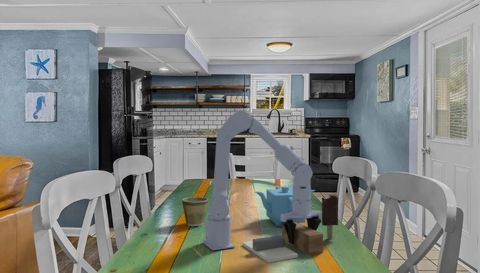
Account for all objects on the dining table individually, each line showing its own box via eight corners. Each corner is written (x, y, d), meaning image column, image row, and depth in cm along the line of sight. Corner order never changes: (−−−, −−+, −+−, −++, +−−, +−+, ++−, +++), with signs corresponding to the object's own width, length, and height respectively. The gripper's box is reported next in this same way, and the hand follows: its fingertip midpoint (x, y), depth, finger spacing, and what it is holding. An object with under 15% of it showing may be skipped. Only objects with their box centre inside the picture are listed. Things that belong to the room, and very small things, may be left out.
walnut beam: (282, 240, 126) (282, 223, 126) (294, 238, 128) (294, 221, 128) (309, 255, 111) (309, 235, 111) (322, 253, 113) (323, 233, 113)
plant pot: (201, 229, 139) (200, 202, 139) (177, 226, 142) (177, 200, 142) (215, 221, 151) (215, 196, 151) (193, 219, 155) (193, 195, 154)
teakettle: (295, 232, 135) (295, 192, 134) (252, 224, 146) (252, 187, 145) (316, 221, 150) (316, 185, 150) (275, 215, 161) (276, 181, 161)
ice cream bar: (323, 239, 126) (323, 195, 126) (321, 238, 128) (321, 194, 127) (338, 239, 126) (338, 195, 126) (336, 237, 128) (336, 194, 128)
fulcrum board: (242, 245, 120) (242, 233, 120) (269, 241, 124) (269, 229, 124) (268, 262, 105) (268, 248, 105) (297, 257, 109) (298, 243, 109)
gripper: (289, 203, 113) (288, 248, 113) (327, 199, 119) (327, 241, 119) (277, 199, 119) (277, 241, 119) (314, 196, 125) (314, 236, 125)
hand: (301, 241), depth 120 cm, fingers open, 7 cm apart
